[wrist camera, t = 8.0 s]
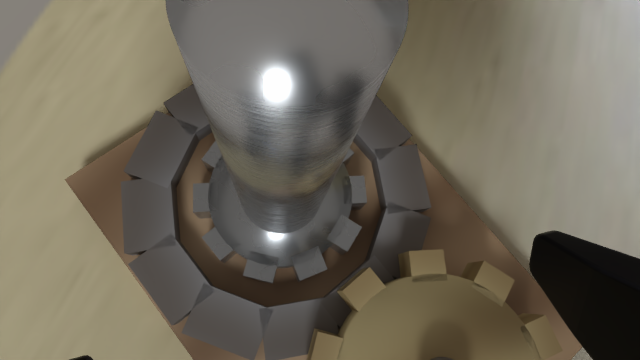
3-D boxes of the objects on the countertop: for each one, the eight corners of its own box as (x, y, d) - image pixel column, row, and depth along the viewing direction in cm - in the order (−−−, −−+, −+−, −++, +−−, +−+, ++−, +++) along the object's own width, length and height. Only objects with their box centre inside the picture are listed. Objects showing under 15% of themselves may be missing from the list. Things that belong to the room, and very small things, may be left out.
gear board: (583, 353, 20) (680, 372, 15) (370, 593, 16) (408, 716, 12) (305, 37, 23) (313, -31, 18) (77, 186, 19) (12, 151, 15)
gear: (386, 178, 20) (603, -47, 7) (306, 316, 18) (387, 377, 5) (258, 99, 20) (226, -258, 7) (165, 225, 18) (-120, 49, 5)
